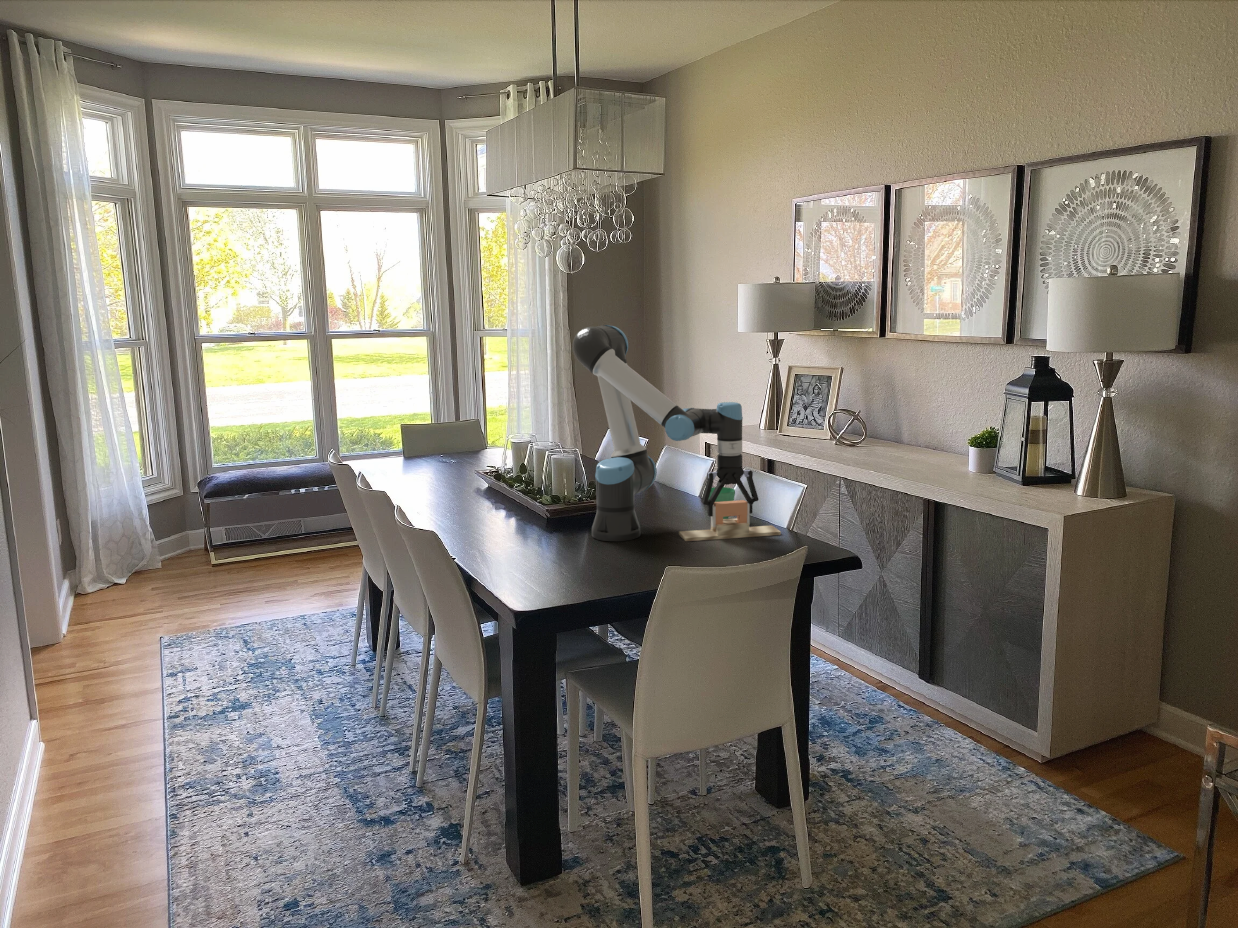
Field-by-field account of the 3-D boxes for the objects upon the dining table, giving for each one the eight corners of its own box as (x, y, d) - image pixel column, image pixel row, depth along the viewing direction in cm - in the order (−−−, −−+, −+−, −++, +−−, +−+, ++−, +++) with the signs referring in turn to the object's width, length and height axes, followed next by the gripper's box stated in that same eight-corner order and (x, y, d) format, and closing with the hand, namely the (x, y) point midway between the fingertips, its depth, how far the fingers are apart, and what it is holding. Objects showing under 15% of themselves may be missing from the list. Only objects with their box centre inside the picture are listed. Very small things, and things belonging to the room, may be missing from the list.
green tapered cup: (740, 521, 299) (740, 491, 297) (713, 524, 296) (713, 494, 294) (720, 512, 313) (720, 483, 311) (693, 515, 309) (693, 485, 307)
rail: (685, 541, 277) (685, 528, 276) (679, 534, 285) (678, 522, 284) (780, 534, 282) (780, 522, 282) (771, 528, 290) (772, 516, 289)
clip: (715, 528, 281) (715, 504, 279) (713, 525, 284) (712, 502, 282) (747, 525, 282) (747, 502, 281) (744, 523, 285) (744, 500, 284)
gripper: (696, 457, 273) (697, 530, 277) (769, 453, 277) (769, 525, 281) (690, 453, 281) (691, 524, 285) (761, 449, 284) (761, 519, 288)
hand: (730, 525), depth 283 cm, fingers closed on clip, 10 cm apart
